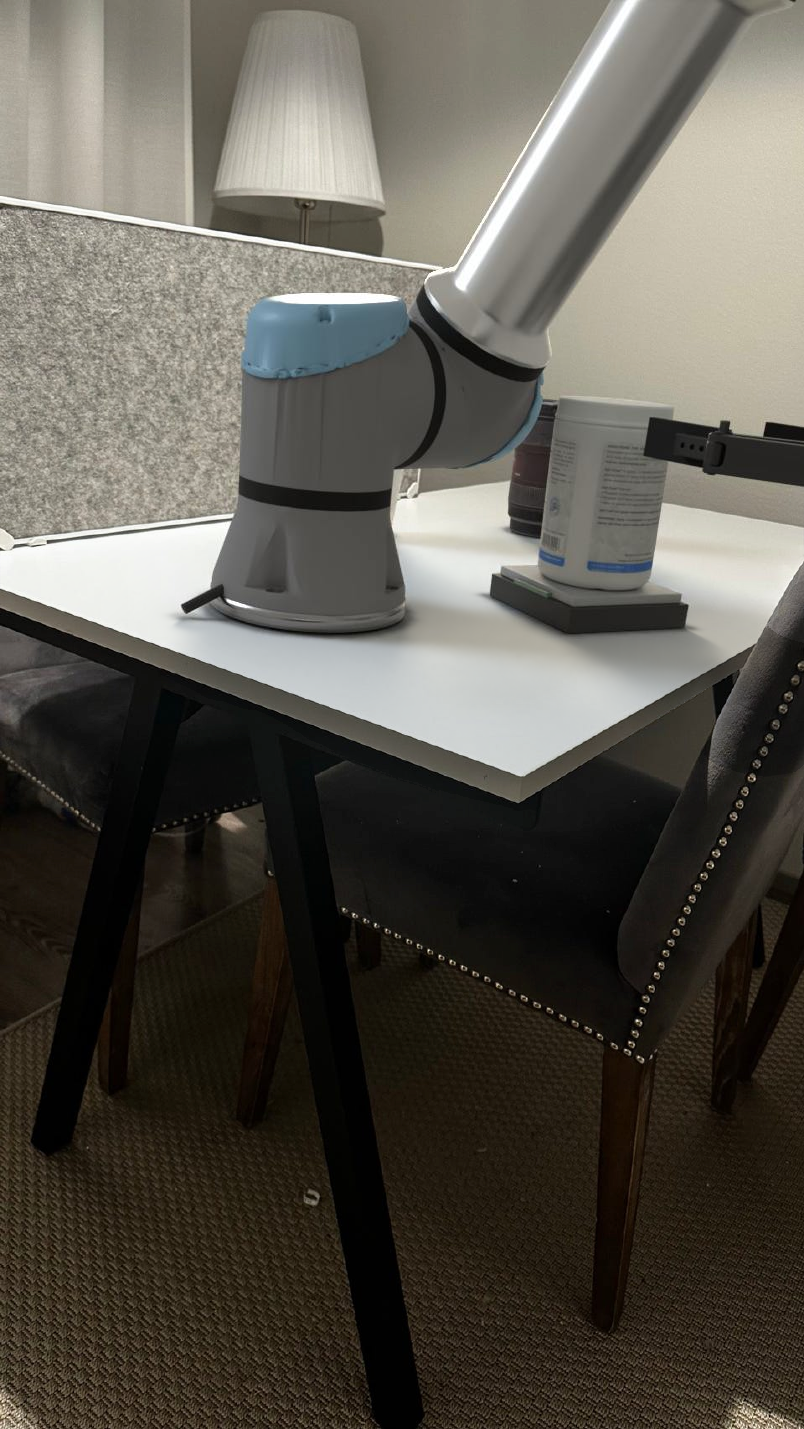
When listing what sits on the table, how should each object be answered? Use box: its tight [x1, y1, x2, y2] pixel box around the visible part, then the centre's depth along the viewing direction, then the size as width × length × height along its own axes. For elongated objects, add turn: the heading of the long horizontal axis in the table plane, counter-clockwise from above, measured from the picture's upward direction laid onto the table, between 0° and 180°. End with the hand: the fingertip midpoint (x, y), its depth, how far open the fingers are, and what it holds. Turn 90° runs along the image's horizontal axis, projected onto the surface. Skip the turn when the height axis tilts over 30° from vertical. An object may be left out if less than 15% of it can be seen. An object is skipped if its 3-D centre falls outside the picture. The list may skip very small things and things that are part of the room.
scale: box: [489, 564, 690, 634], centre depth 93 cm, size 12×12×3 cm
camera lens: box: [507, 398, 559, 538], centre depth 126 cm, size 8×8×15 cm
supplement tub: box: [537, 395, 675, 590], centre depth 90 cm, size 10×10×15 cm
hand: (709, 438), depth 81 cm, fingers open, 13 cm apart
